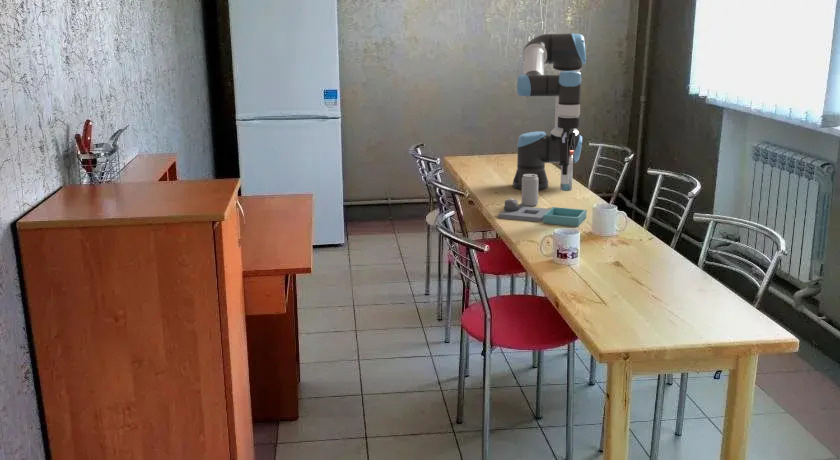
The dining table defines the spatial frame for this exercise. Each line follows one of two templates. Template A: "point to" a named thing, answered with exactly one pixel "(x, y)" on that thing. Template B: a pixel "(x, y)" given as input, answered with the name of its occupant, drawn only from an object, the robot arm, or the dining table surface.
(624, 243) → the dining table surface
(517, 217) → the board
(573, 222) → the tray
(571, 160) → the bottle with red cap
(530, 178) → the beverage can
